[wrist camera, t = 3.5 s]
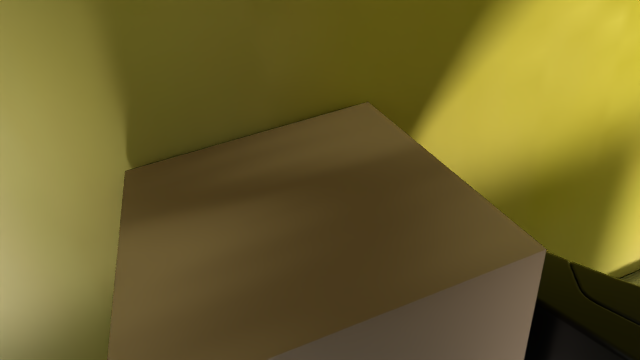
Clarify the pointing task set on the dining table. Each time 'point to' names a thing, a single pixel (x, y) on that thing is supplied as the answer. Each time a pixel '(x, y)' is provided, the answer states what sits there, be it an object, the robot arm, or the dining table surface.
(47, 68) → the dining table surface
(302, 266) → the walnut block
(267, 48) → the dining table surface
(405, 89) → the dining table surface
